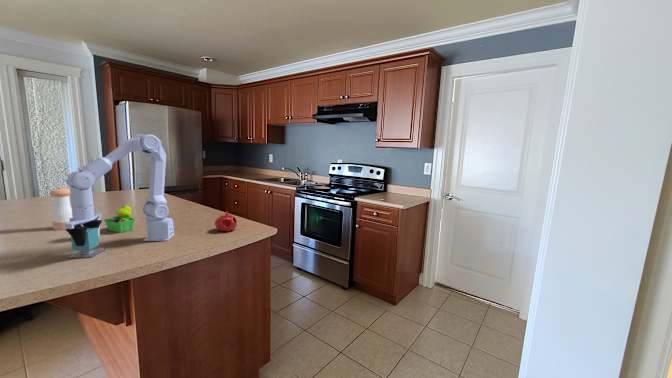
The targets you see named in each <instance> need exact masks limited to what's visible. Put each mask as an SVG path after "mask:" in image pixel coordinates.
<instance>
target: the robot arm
mask: <svg viewBox="0 0 672 378" xmlns="http://www.w3.org/2000/svg"><path fill="white" fill-rule="evenodd" d="M138 151H141V152H142V153H144V154H146V155H147V156H148V157H149V158H150V171H149V184H148V185H149V188H148V189H149V190H148V196H147V197H146V198H145V203H144V205H143V207H142V211H143V213H144V215H146V217H145V221H146V222H145V223H146V237H145V238H144V239H143V240H142V241H143V242H157V241H158V242H161V241H162V242H163V241H165V242H166V241H169V240H170V239H171V238H173V237H174V236H175V229H174V228H175V227H174V219H172V218H171V217H167V216H168V215H169V212H170V211H169V210H170V209H169V207H168V202H167V199H166V197H165V196H164V195H165V185H166V184H165V183H166V182H165V179H166V165H167V153H166V152H165V150H164V148H163V145H162V141H161V140H160V139H159V138H158V137H157V136H156V135H154V134H141V133H137V134H135V135H133V137H130V138H128V139H127V140H125V141H124V142H123V143H122V144H120V145H119V146H117V147H116V148H115V149H114V150H112V151H110V152H109V153H107V155H105V156H97V157H92V158H90V159H89V162H88V163H87V164H85V165H84V166H82V167H81V166H79V167H78V168H77V171H73V172H70V173H69V175H68V176H67V177H66V179H65V182H66V183H67V185H68V186H70V187H69V190H70V192H71V193H70V195H69V198H70V206H71V209H72V216H73V218H70V219H69V220H70V221H69V222H67V223H65V229H64V230H65V231H66V232H67V233H68V234H69V235H70V237H71V236H72V238H73V240H74V242H75V244H76V246H84V244H85V233H86V230H87V228H99V226H100V227H101V224H102V223H103V221H102V220H97V219H99V218H101V219H102V217H101V216H102V214H101V212H95V206H94V197H93V188H92V187H93V186H94V184H95V181H97V180H98V179H100V178H101V177H103V176H104V175H105V174H107V173H108V172H110V171H111V170H112V169H113V165H114V163H116V162H118V161H119V160H121V159H122V158H124V157H126V156H127V155H128V154H130V153H131V152H138Z"/></svg>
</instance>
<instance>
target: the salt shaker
mask: <svg viewBox="0 0 672 378" xmlns="http://www.w3.org/2000/svg"><path fill="white" fill-rule="evenodd" d="M70 193H71V192H70V188H65V187H64V188H63V187H62V186H59V187H57V188H53V189H51V190H50V191H49V196H50V197H52V206H53V207H52V219H53V221H52V229H53V230H54V231H61V230H66V229H65V223H67V222H69V221H70V220H69V219H70V218H73V216H72V206H71V198H70Z"/></svg>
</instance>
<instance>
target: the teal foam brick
mask: <svg viewBox="0 0 672 378" xmlns="http://www.w3.org/2000/svg"><path fill="white" fill-rule="evenodd" d="M70 238H71V239H70V240H71V248H72V249H71V250H72V251H80V250H91V249H93V248H94V249H95V248H97V247H98V246H99V245H100V239H99V238H100V236H99V237H98V228H87V230H86V233H85V244H84V246H76V244H75V242H74V240H73V238H72V236H71V235H70Z"/></svg>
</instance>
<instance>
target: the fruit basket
mask: <svg viewBox="0 0 672 378" xmlns="http://www.w3.org/2000/svg"><path fill="white" fill-rule="evenodd" d="M130 206H131V205H128V204H125V205H123V206H122V207H121V208H119V209H118V210H117V211H116V215H117V216H113V217H110V218H106V219H104V220H103V221H104V222H105V225H106V227H107V229H108V231H112V232H116V233H125V232H129V231H133V230H134V229H133V228H134V224H135V221H136V218H133V217H131V216H132V207H130Z"/></svg>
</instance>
